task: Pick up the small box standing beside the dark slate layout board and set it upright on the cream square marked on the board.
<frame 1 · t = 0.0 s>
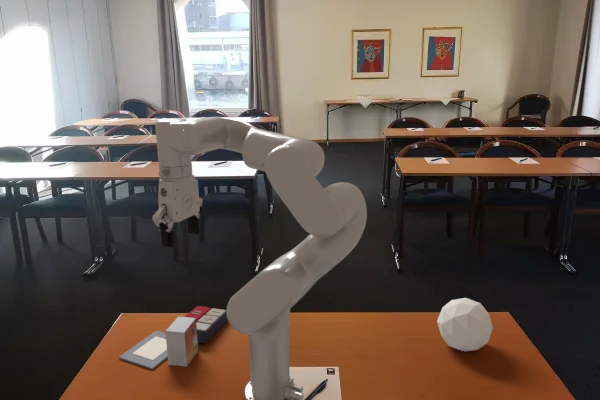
hand: (181, 239, 117), 37 cm above the table, tool pointing down, fingers open, 9 cm apart
calculator: (201, 329, 146), on the table, touching layout board
layout board: (154, 349, 136), on the table
geometric sphere: (462, 346, 136), on the table
small box: (183, 358, 132), on the table
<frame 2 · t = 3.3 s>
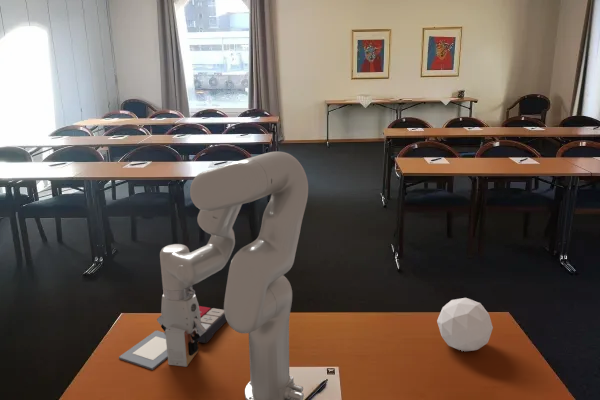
hand: (183, 349, 131), 3 cm above the table, tool pointing down, fingers closed on small box, 6 cm apart
small box: (183, 358, 132), on the table, touching gripper
everything else where it was.
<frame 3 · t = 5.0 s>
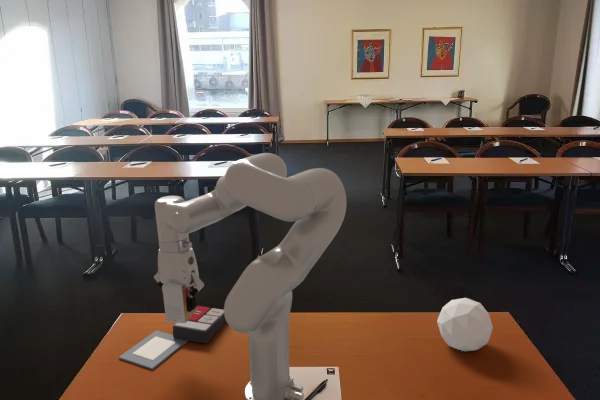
hand: (181, 306, 127), 16 cm above the table, tool pointing down, fingers closed on small box, 6 cm apart
small box: (182, 316, 128), point 13 cm above the table, touching gripper
everything else where it was.
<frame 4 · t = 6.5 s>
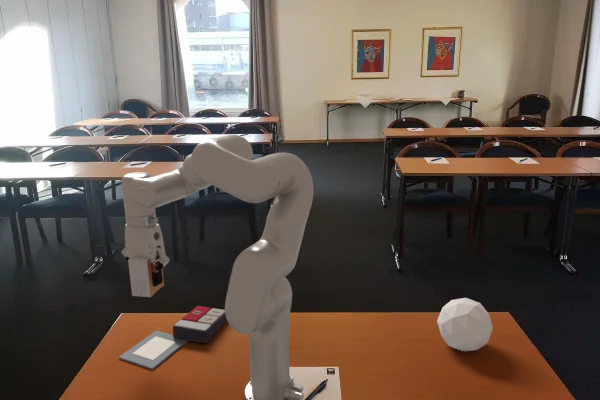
hand: (147, 281, 130), 21 cm above the table, tool pointing down, fingers closed on small box, 6 cm apart
small box: (148, 291, 131), point 18 cm above the table, touching gripper
everything else where it was.
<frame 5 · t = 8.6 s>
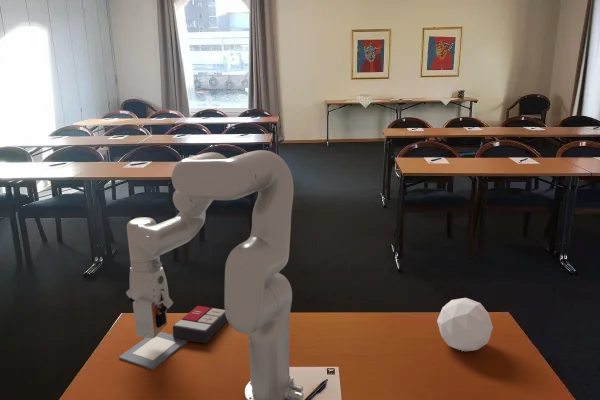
hand: (151, 321, 133), 9 cm above the table, tool pointing down, fingers closed on small box, 6 cm apart
small box: (152, 330, 134), point 6 cm above the table, touching gripper
everything else where it was.
when the fingers open (5 cm above the table, at t = 10.0 s): small box drops 1 cm, resting on layout board.
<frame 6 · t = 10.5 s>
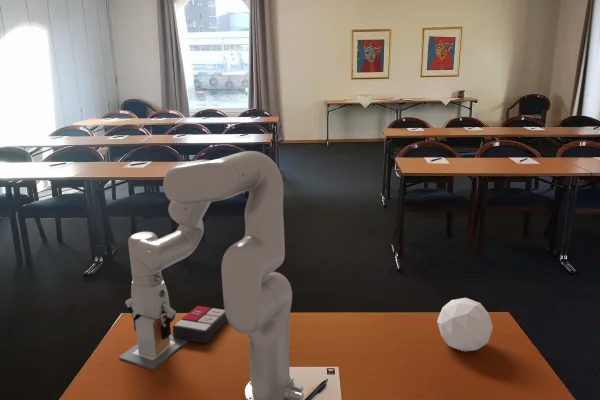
hand: (152, 332, 134), 6 cm above the table, tool pointing down, fingers open, 9 cm apart
small box: (154, 348, 135), point 1 cm above the table, touching layout board
everything else where it was.
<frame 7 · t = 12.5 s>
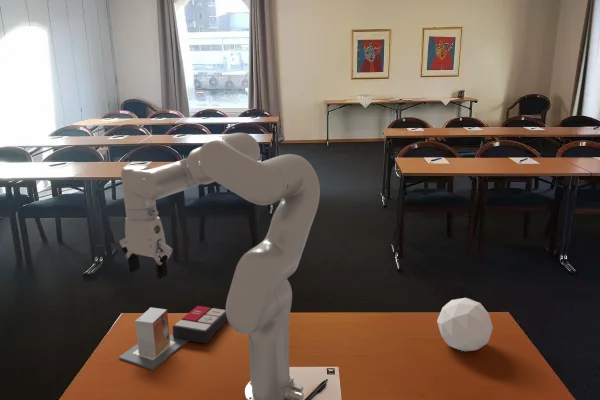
hand: (148, 273, 127), 24 cm above the table, tool pointing down, fingers open, 9 cm apart
nothing on the table moved.
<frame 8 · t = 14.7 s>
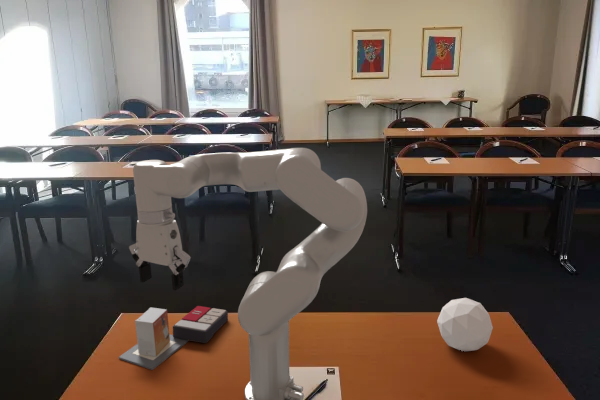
hand: (162, 284, 112), 28 cm above the table, tool pointing down, fingers open, 9 cm apart
nothing on the table moved.
at the end: small box 0.2 cm off-centre on the layout board, point 0.5 cm above the layout board's base; small box tilted 0°; the gripper is holding nothing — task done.
